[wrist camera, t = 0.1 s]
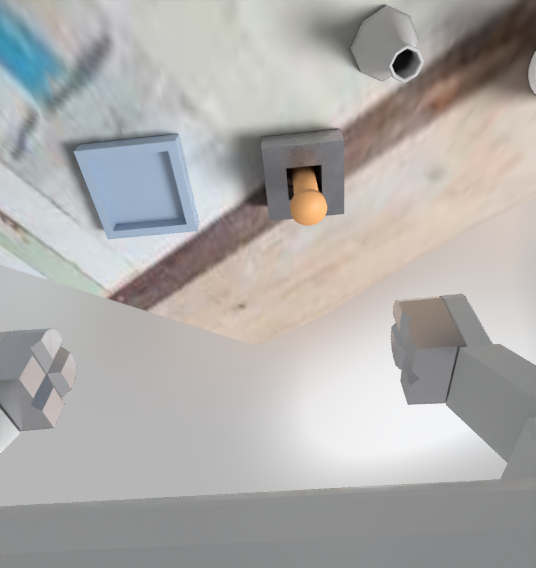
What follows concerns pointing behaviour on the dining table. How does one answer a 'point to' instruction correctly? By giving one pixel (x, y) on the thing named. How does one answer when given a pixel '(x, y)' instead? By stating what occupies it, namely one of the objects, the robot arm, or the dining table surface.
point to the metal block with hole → (300, 153)
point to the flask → (388, 46)
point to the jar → (532, 73)
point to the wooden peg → (306, 197)
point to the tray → (139, 186)
